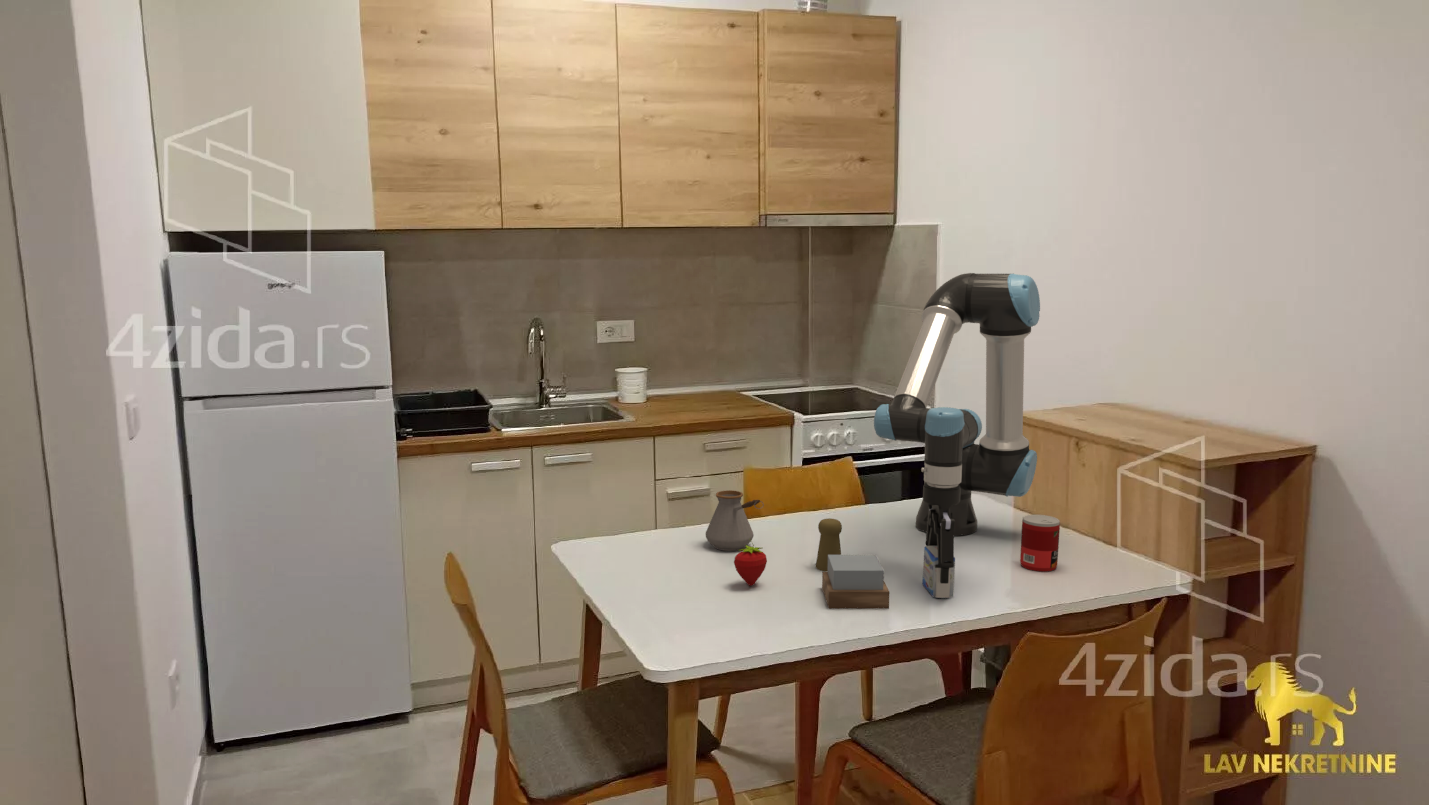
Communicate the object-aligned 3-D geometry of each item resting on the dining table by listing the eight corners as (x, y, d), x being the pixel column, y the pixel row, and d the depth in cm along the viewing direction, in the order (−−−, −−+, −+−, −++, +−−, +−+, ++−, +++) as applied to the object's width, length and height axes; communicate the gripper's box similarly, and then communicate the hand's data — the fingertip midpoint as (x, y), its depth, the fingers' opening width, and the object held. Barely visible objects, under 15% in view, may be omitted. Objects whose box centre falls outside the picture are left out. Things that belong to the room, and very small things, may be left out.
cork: (825, 573, 224) (826, 524, 222) (810, 565, 229) (811, 518, 227) (848, 569, 226) (849, 521, 224) (832, 561, 232) (833, 514, 230)
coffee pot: (697, 542, 246) (697, 481, 243) (740, 536, 250) (740, 477, 248) (736, 568, 227) (736, 503, 224) (781, 562, 231) (782, 497, 229)
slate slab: (827, 573, 213) (827, 554, 213) (875, 573, 213) (875, 554, 213) (833, 589, 203) (833, 570, 203) (883, 589, 203) (883, 570, 203)
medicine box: (921, 584, 216) (923, 545, 215) (942, 584, 217) (944, 545, 215) (932, 598, 209) (934, 557, 207) (954, 597, 209) (955, 556, 208)
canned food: (1059, 573, 224) (1062, 524, 222) (1021, 570, 226) (1024, 522, 224) (1054, 562, 231) (1057, 515, 230) (1018, 560, 233) (1020, 513, 231)
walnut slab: (822, 590, 215) (822, 571, 214) (879, 590, 215) (879, 571, 214) (828, 611, 203) (829, 591, 202) (888, 611, 203) (889, 591, 202)
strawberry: (727, 585, 216) (727, 539, 214) (755, 578, 220) (756, 533, 219) (744, 593, 211) (744, 546, 210) (773, 586, 216) (773, 540, 214)
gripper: (913, 471, 219) (910, 573, 223) (934, 496, 199) (930, 607, 202) (948, 471, 219) (944, 573, 223) (973, 496, 199) (968, 608, 202)
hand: (937, 589), depth 213 cm, fingers closed on medicine box, 8 cm apart
